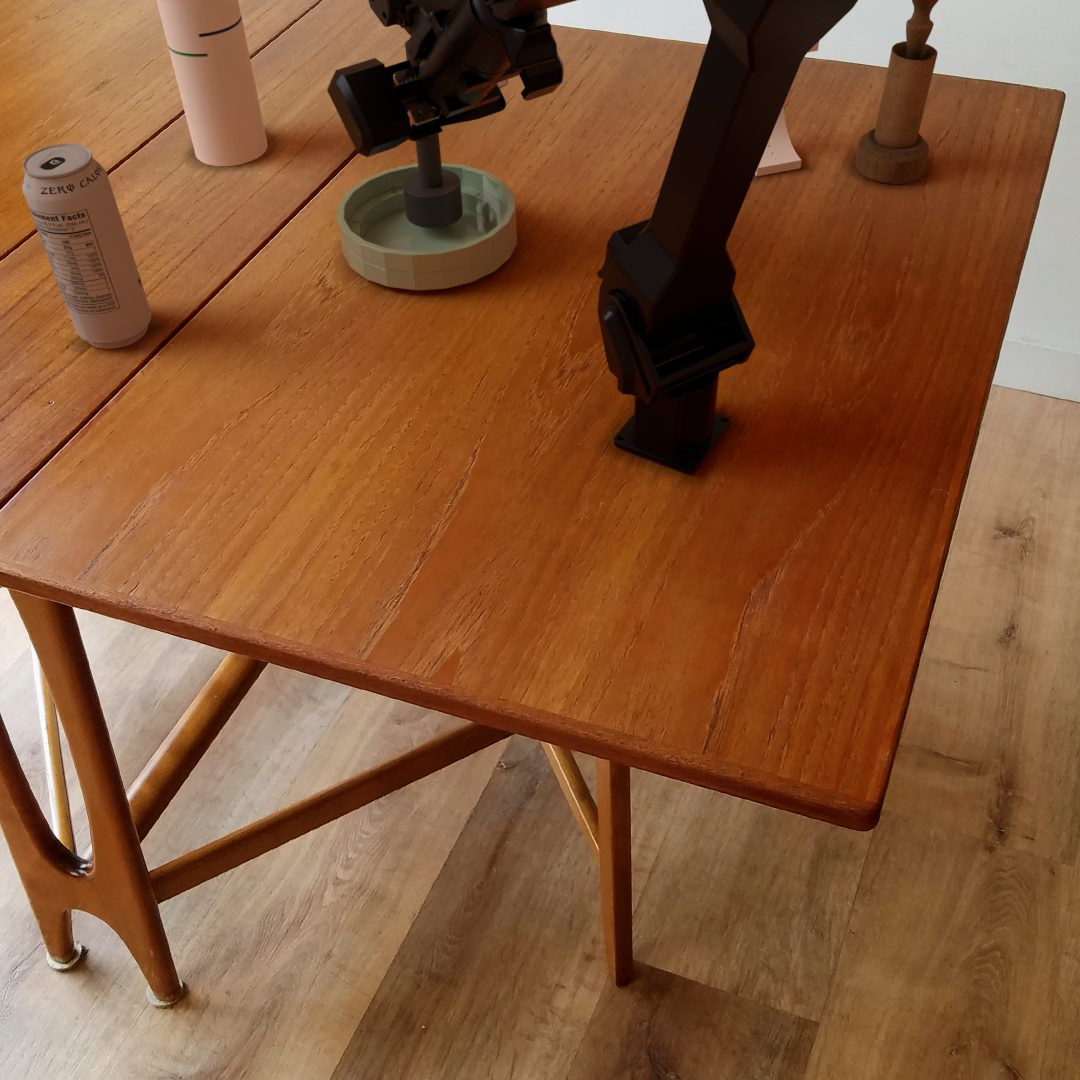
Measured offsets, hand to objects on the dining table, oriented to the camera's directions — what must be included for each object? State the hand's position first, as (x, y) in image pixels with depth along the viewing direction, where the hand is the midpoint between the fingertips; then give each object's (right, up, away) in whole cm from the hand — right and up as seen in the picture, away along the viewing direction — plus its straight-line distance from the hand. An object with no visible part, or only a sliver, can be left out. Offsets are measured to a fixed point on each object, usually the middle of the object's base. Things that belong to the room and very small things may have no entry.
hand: (418, 126), depth 97 cm
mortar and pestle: (+43, 0, +12) cm, 45 cm away
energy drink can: (-24, -18, -3) cm, 30 cm away
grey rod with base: (+1, -6, +5) cm, 8 cm away
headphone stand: (+32, +2, +14) cm, 35 cm away
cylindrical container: (-21, +4, +18) cm, 28 cm away
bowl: (+1, -9, +4) cm, 10 cm away
